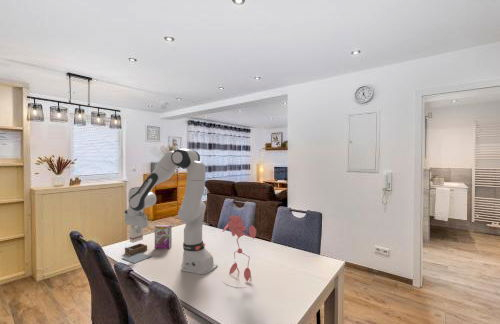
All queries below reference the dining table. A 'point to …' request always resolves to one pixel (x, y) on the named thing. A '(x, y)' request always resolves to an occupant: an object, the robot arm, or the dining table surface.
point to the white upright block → (135, 234)
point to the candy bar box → (163, 236)
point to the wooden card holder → (135, 249)
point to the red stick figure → (237, 229)
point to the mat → (136, 257)
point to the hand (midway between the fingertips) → (136, 232)
